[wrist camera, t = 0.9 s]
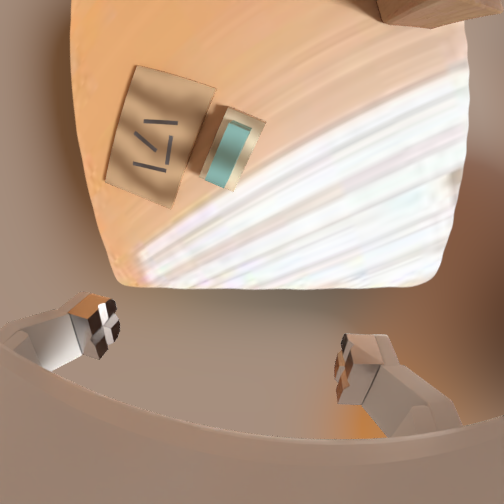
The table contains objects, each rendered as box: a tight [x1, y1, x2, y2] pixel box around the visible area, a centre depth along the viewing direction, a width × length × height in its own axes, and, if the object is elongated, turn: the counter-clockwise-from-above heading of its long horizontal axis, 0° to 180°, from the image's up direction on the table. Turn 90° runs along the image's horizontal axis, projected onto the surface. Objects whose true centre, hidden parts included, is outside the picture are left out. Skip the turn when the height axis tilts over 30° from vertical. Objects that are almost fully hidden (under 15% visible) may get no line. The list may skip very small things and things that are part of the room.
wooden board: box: [105, 65, 217, 209], centre depth 42 cm, size 22×14×1 cm, turn 157°
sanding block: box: [199, 107, 266, 192], centre depth 40 cm, size 12×6×6 cm, turn 156°
